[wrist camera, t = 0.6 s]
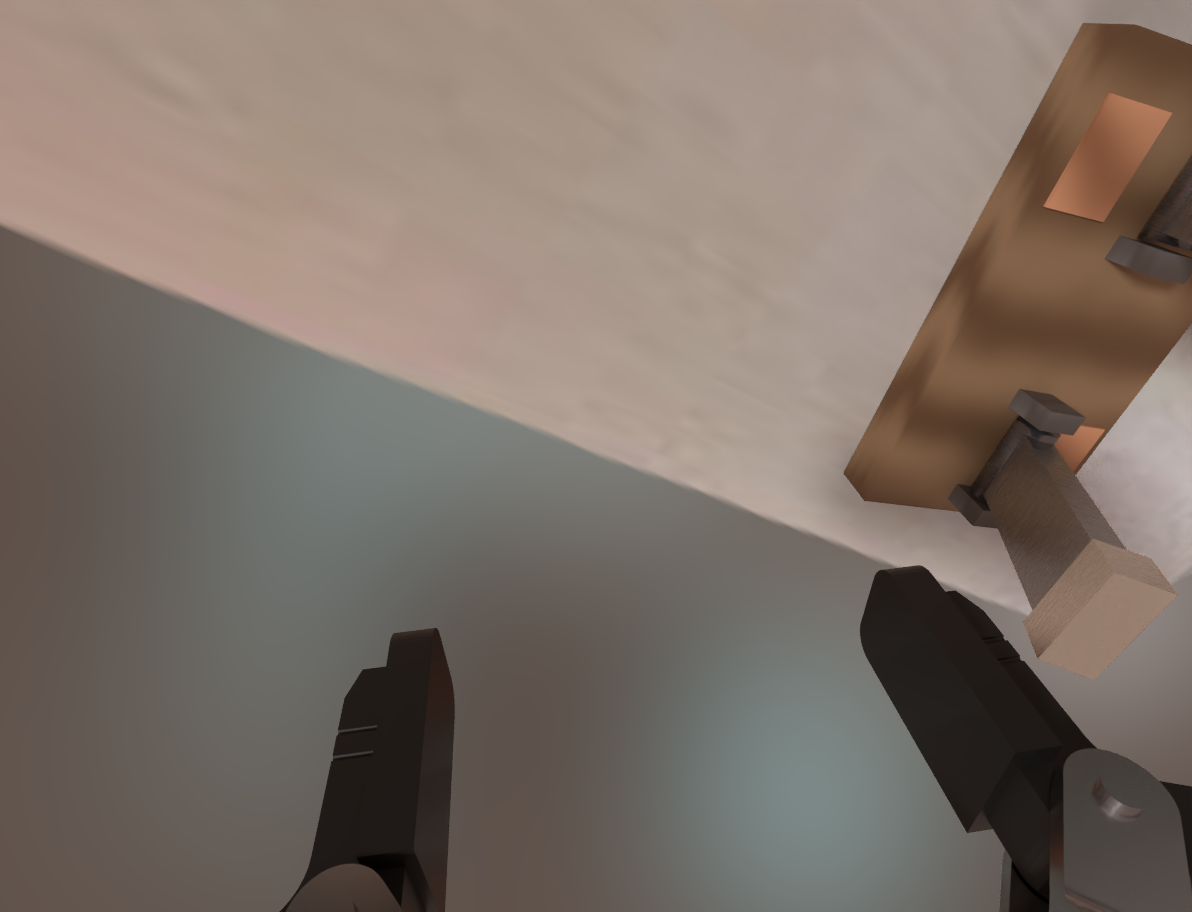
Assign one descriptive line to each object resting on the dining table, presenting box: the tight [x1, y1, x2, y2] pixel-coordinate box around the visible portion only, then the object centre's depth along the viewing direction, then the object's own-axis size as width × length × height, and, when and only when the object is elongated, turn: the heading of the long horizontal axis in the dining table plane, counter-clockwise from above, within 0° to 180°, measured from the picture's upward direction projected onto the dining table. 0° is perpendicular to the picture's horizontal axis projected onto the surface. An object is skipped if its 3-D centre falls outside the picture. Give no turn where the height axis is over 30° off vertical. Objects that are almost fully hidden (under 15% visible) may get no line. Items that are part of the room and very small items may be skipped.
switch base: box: [844, 23, 1192, 528], centre depth 37 cm, size 26×14×6 cm, turn 167°
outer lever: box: [970, 416, 1178, 680], centre depth 34 cm, size 5×2×16 cm, turn 167°
